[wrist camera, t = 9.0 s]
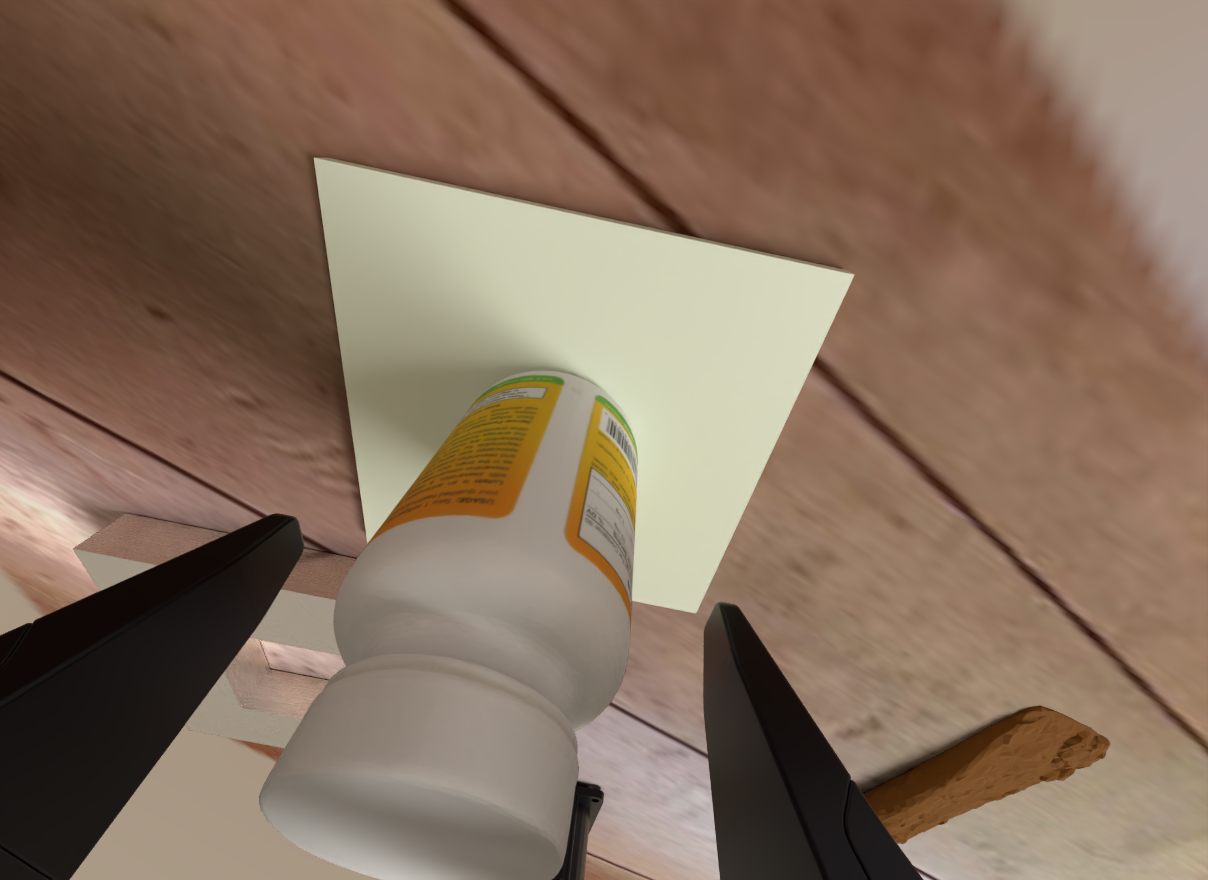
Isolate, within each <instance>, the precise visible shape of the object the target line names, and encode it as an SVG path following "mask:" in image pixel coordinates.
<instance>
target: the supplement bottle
mask: <svg viewBox="0 0 1208 880" xmlns="http://www.w3.org/2000/svg"><path fill="white" fill-rule="evenodd" d="M637 476H638V451H637V443H636V438H635V434H634V431H633V428H632V426H631V424H630V422H629V420H628V418H627V416H626V415H625V413H624V412H623V410H622V409H621V407H620V406H619V405H618V404H617V403H616V402H615V400H614V399H613V398H612V397H610V396H609V395H608V394H607V393H606V392H605V391H603V390H602V389H600V388H599V387H597V386H596V385H594V384H592V383H591V382H589V381H586V380H584V379H582V378H579V377H577V376H574V375H570V374H566V373H562V372H556V371H528V372H523V373H518V374H514V375H511V376H509V377H506V378H504V379H502V380H500V381H498V382H496V383H495V384H493V385H492V386H490V387H489V388H488V389H487V390H485V391H484V392H483V393H482V394H481V395H480V396H479V397H478V399H477V400H476V401H475V402H474V403H473V404H472V406H471V407H470V408H469V409H468V411H467V412H466V414H465V415H464V416H463V417H462V419H461V420H460V422H459V423H458V424H457V426H456V427H455V428H454V430H453V431H452V432H451V434H450V435H449V436H448V438H447V439H446V440H445V442H444V443H443V444H442V446H441V447H440V448H439V450H438V451H437V452H436V454H435V455H434V456H433V458H432V459H431V460H430V461H429V463H428V464H427V465H426V467H425V468H424V469H423V471H422V472H421V473H420V475H419V476H418V478H417V479H416V480H415V482H414V483H413V484H412V485H411V487H410V488H409V489H408V491H407V492H406V493H405V495H404V496H403V497H402V498H401V500H400V501H399V502H398V504H397V505H396V506H395V508H394V509H393V510H392V512H391V513H390V514H389V516H388V517H387V519H386V520H385V521H384V523H383V524H382V525H381V527H380V528H379V529H378V530H377V532H376V533H375V534H374V536H373V537H372V538H371V540H370V541H369V542H368V544H367V545H366V547H365V548H364V549H363V551H362V552H361V554H360V555H359V557H358V558H357V560H356V561H355V563H354V564H353V566H352V567H351V569H350V570H349V572H348V574H347V575H346V577H345V578H344V580H343V583H342V585H341V587H340V589H339V592H338V595H337V598H336V603H335V608H334V620H333V624H334V633H335V638H336V643H337V646H338V649H339V651H340V654H341V656H342V658H343V661H344V662H345V664H346V666H347V667H345V668H343V669H342V670H340V671H338V672H337V673H336V674H335V675H334V676H333V677H332V678H331V679H330V680H329V681H328V682H327V684H326V685H325V687H324V689H323V691H322V692H321V693H320V694H319V695H318V696H317V697H316V698H315V699H314V701H313V702H312V703H311V705H310V707H309V708H308V710H307V712H306V714H305V716H304V717H303V719H302V721H301V722H300V724H299V726H298V727H297V729H296V731H295V732H294V734H293V736H292V737H291V739H290V740H289V742H288V744H287V745H286V747H285V749H284V750H283V752H282V754H281V755H280V757H279V759H278V760H277V762H276V764H275V765H274V767H273V769H272V770H271V772H270V774H269V776H268V778H267V779H266V781H265V783H264V785H263V788H262V790H261V793H260V796H259V804H260V808H261V811H262V813H263V814H264V816H265V818H266V819H267V821H268V822H269V823H270V824H271V825H272V826H273V827H274V828H275V829H276V830H277V831H278V832H279V833H280V834H281V835H283V836H284V837H285V838H287V839H288V840H289V841H291V842H292V843H294V844H295V845H297V846H298V847H300V848H301V849H303V850H305V851H307V852H309V853H312V854H313V855H315V856H318V857H320V858H322V859H324V860H326V861H328V862H331V863H334V864H336V865H339V866H342V867H344V868H347V869H350V870H353V871H356V872H358V873H361V874H364V875H367V876H371V877H374V878H378V879H381V880H552V879H553V878H554V877H555V876H556V875H557V874H558V873H559V871H560V869H561V868H562V866H563V862H564V858H565V854H566V849H567V842H568V836H569V829H570V823H571V816H572V808H573V801H574V793H575V787H576V782H577V778H578V771H579V766H578V759H577V740H576V736H575V733H574V732H575V731H577V730H578V729H580V728H582V727H584V726H585V725H587V724H589V723H590V722H591V721H593V720H594V719H595V718H596V717H597V716H599V715H600V714H601V713H602V712H603V711H604V710H605V708H606V707H607V706H608V705H609V704H610V702H611V701H612V700H613V698H614V696H615V695H616V693H617V691H618V689H619V687H620V685H621V683H622V680H623V677H624V674H625V670H626V665H627V660H628V652H629V642H630V631H631V614H632V584H633V563H634V543H635V523H636V499H637Z"/></svg>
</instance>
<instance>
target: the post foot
mask: <svg viewBox="0 0 1208 880" xmlns="http://www.w3.org/2000/svg"><path fill="white" fill-rule="evenodd" d="M227 534H229V533H224V532H219V531H214V530H208V529H203V528H198V527H193V526H188V525H183V524H178V523H173V522H168V521H163V520H158V519H153V518H148V517H143V516H137V515H132V514H127V513H126V514H124V515H123V516H121V517H120V518H118V519H117V520H115V521H114V522H112V523H111V524H109V525H108V526H106V527H105V528H103V529H102V530H100V531H99V532H97V533H96V534H94V535H93V536H91V537H90V538H88V539H87V540H85V541H84V542H82V543H81V544H79V545H78V546H76V547H75V548H73V550H74V552H75V553H76V555H77V556H78V558H79V559H80V561H81V562H82V564H83V566H84V567H85V569H86V570H87V572H88V573H89V575H90V577H91V578H92V580H93V581H94V583H95V584H96V586H97V587H98V589H99V591H101V590H103V589H106V588H108V587H110V586H112V585H115V584H117V583H119V582H121V581H124V580H126V579H128V578H130V577H133V576H135V575H137V574H139V573H142V572H144V571H146V570H148V569H150V568H153V567H155V566H157V565H159V564H162V563H164V562H166V561H168V560H171V559H173V558H175V557H177V556H180V555H182V554H184V553H186V552H189V551H191V550H193V549H195V548H198V547H200V546H202V545H204V544H206V543H209V542H211V541H213V540H215V539H218V538H220V537H222V536H224V535H227ZM356 560H357V559H356V558H350V557H345V556H340V555H335V554H330V553H325V552H320V551H315V550H310V549H305V548H304V550H303V553H302V555H301V557H300V559H299V560H298V562H297V564H296V565H295V567H294V569H293V570H292V572H291V574H290V575H289V577H288V579H287V580H286V582H285V584H284V585H283V587H282V589H281V590H280V592H279V594H278V595H277V597H276V599H275V600H274V602H273V604H272V605H271V607H270V609H269V610H268V612H267V613H266V615H265V616H264V618H263V620H262V621H261V623H260V624H259V625H258V627H257V628H256V630H255V631H254V632H253V634H252V635H251V637H250V638H249V639H248V641H247V642H246V643H245V645H244V646H243V647H242V649H241V650H240V651H239V653H238V654H237V655H236V657H235V658H234V659H233V661H232V662H231V663H230V665H229V666H228V667H227V669H226V670H225V671H224V673H223V674H222V676H221V677H220V678H219V680H218V681H217V682H216V684H215V685H214V686H213V688H212V689H211V690H210V692H209V693H208V694H207V696H206V697H205V698H204V700H203V701H202V702H201V704H200V705H199V706H198V708H197V709H196V710H195V712H194V713H193V714H192V716H191V717H190V719H189V720H188V721H187V723H186V724H185V725H186V726H187V728H188V729H189V730H190V731H195V732H201V733H206V734H211V735H217V736H222V737H227V738H233V739H238V740H243V741H249V742H254V743H259V744H265V745H270V746H275V747H281V748H285V747H286V745H287V744H288V742H289V740H290V739H291V737H292V736H293V734H294V732H295V731H296V729H297V727H298V726H299V724H300V722H301V721H302V719H303V717H304V716H305V714H306V712H307V710H308V708H309V707H310V705H311V703H312V702H313V701H314V699H315V698H316V697H317V696H318V695H319V694H320V693H321V692H322V691H323V689H324V687H325V685H326V684H327V682H328V681H329V680H324V679H318V678H313V677H308V676H303V675H297V674H292V673H287V672H282V671H276V670H271V669H270V667H269V665H268V662H267V660H266V657H265V654H264V652H263V649H262V647H261V644H260V641H259V640H263V641H269V642H274V643H279V644H284V645H289V646H295V647H300V648H305V649H310V650H315V651H321V652H326V653H331V654H336V655H341V654H340V651H339V649H338V646H337V643H336V638H335V633H334V624H333V620H334V608H335V603H336V598H337V595H338V592H339V589H340V587H341V585H342V583H343V580H344V578H345V577H346V575H347V574H348V572H349V570H350V569H351V567H352V566H353V564H354V563H355V561H356Z"/></svg>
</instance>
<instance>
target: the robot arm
mask: <svg viewBox="0 0 1208 880" xmlns="http://www.w3.org/2000/svg"><path fill="white" fill-rule="evenodd" d="M303 550H304V541H303V537H302V533H301V529H300V525H299V521H298V519H297V518H296V517H293V516H289V515H284V514H272V515H269V516H267V517H265V518H262V519H260V520H258V521H256V522H254V523H251V524H249V525H247V526H245V527H242V528H240V529H238V530H236V531H233V532H231V533H229V534H227V535H224V536H222V537H220V538H218V539H215V540H213V541H211V542H209V543H206V544H204V545H202V546H200V547H198V548H195V549H193V550H191V551H189V552H186V553H184V554H182V555H180V556H177V557H175V558H173V559H171V560H168V561H166V562H164V563H162V564H159V565H157V566H155V567H153V568H150V569H148V570H146V571H144V572H142V573H139V574H137V575H135V576H133V577H130V578H128V579H126V580H124V581H121V582H119V583H117V584H115V585H112V586H110V587H108V588H106V589H103V590H101V591H99V592H97V593H94V594H92V595H90V596H88V597H86V598H83V599H81V600H79V601H77V602H74V603H72V604H70V605H68V606H65V607H63V608H61V609H59V610H56V611H54V612H52V613H50V614H47V615H45V616H43V617H41V618H38V619H36V620H35V621H34V622H33V623H27V624H25V625H22V626H20V627H18V628H16V629H14V630H11V631H9V632H7V633H5V634H3V635H0V880H70V878H71V877H72V876H73V874H74V873H75V872H76V870H77V869H78V868H79V866H80V865H81V864H82V862H83V861H84V860H85V858H86V857H87V856H88V854H89V853H90V851H91V850H92V849H93V848H94V846H95V845H96V843H97V842H98V841H99V839H100V838H101V837H102V835H103V834H104V833H105V831H106V830H107V829H108V827H109V826H110V825H111V823H112V822H113V821H114V819H115V818H116V817H117V815H118V814H119V812H120V811H121V810H122V808H123V807H124V806H125V804H126V803H127V802H128V800H129V799H130V798H131V796H132V795H133V794H134V792H135V791H136V790H137V788H138V787H139V786H140V784H141V783H142V782H143V780H144V779H145V778H146V776H147V775H148V774H149V772H150V771H151V770H152V768H153V767H154V766H155V764H156V763H157V761H158V760H159V759H160V757H161V756H162V755H163V753H164V752H165V751H166V749H167V748H168V747H169V745H170V744H171V743H172V741H173V740H174V739H175V737H176V736H177V735H178V733H179V732H180V731H181V729H182V728H183V726H184V725H185V724H186V723H187V721H188V720H189V719H190V717H191V716H192V714H193V713H194V712H195V710H196V709H197V708H198V706H199V705H200V704H201V702H202V701H203V700H204V698H205V697H206V696H207V694H208V693H209V692H210V690H211V689H212V688H213V686H214V685H215V684H216V682H217V681H218V680H219V678H220V677H221V676H222V674H223V673H224V671H225V670H226V669H227V667H228V666H229V665H230V663H231V662H232V661H233V659H234V658H235V657H236V655H237V654H238V653H239V651H240V650H241V649H242V647H243V646H244V645H245V643H246V642H247V641H248V639H249V638H250V637H251V635H252V634H253V632H254V631H255V630H256V628H257V627H258V625H259V624H260V623H261V621H262V620H263V618H264V616H265V615H266V613H267V612H268V610H269V609H270V607H271V605H272V604H273V602H274V600H275V599H276V597H277V595H278V594H279V592H280V590H281V589H282V587H283V585H284V584H285V582H286V580H287V579H288V577H289V575H290V574H291V572H292V570H293V569H294V567H295V565H296V564H297V562H298V560H299V559H300V557H301V555H302V553H303ZM703 704H704V721H705V731H706V741H707V751H708V761H709V771H710V781H711V791H712V801H713V811H714V821H715V831H716V841H717V852H718V862H719V872H720V880H923V879H922V877H921V876H920V874H919V873H918V872H917V870H916V869H915V868H914V866H913V865H912V864H911V862H910V861H909V860H908V858H907V857H906V855H905V854H904V853H903V851H902V850H901V849H900V847H899V846H898V845H897V843H896V842H895V841H894V839H893V838H892V836H891V835H890V833H889V832H888V830H887V829H886V828H885V826H884V825H883V823H882V822H881V820H880V819H879V817H878V816H877V814H876V813H875V812H874V810H873V809H872V807H871V806H870V804H869V803H868V801H867V800H866V798H865V797H864V795H863V794H862V792H861V791H860V789H859V788H858V786H857V785H856V783H855V782H854V781H853V780H851V776H850V774H849V773H848V771H847V770H846V768H845V767H844V765H843V764H842V762H841V761H840V759H839V758H838V756H837V755H836V753H835V752H834V750H833V749H832V747H831V746H830V744H829V743H828V741H827V740H826V738H825V737H824V735H823V734H822V732H821V731H820V729H819V728H818V726H817V725H816V723H815V722H814V720H813V719H812V717H811V716H810V714H809V713H808V711H807V709H806V708H805V706H804V705H803V703H802V702H801V700H800V699H799V697H798V696H797V694H796V693H795V691H794V690H793V688H792V687H791V685H790V684H789V682H788V681H787V679H786V678H785V676H784V675H783V673H782V672H781V670H780V669H779V667H778V666H777V664H776V663H775V661H774V660H773V658H772V657H771V655H770V654H769V652H768V651H767V649H766V648H765V646H764V645H763V643H762V642H761V640H760V639H759V637H758V636H757V634H756V633H755V631H754V629H753V628H752V626H751V625H750V623H749V622H748V620H747V619H746V617H745V616H744V614H743V613H742V611H741V610H740V608H739V607H738V606H736V605H734V604H730V603H725V602H718V603H716V605H715V607H714V609H713V611H712V613H711V615H710V617H709V619H708V621H707V623H706V625H705V629H704V680H703ZM603 798H604V793H603V792H602V791H600V790H597V789H592V788H586V787H581V786H576V787H575V793H574V801H573V808H572V816H571V823H570V829H569V836H568V842H567V849H566V854H565V858H564V862H563V866H562V868H561V869H560V871H559V873H558V874H557V875H556V876H555V877H554V878H553V879H552V880H584V875H585V864H586V853H587V842H588V834H589V832H590V830H591V828H592V826H593V823H594V821H595V819H596V817H597V815H598V812H599V810H600V808H601V806H602V804H603Z"/></svg>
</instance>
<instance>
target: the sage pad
mask: <svg viewBox="0 0 1208 880" xmlns="http://www.w3.org/2000/svg"><path fill="white" fill-rule="evenodd" d="M314 164H315V171H316V178H317V185H318V192H319V200H320V207H321V214H322V221H323V228H324V235H325V243H326V250H327V257H328V264H329V271H330V279H331V286H332V293H333V300H334V307H335V314H336V322H337V329H338V336H339V343H340V350H341V357H342V365H343V372H344V379H345V386H346V393H347V401H348V408H349V415H350V422H351V429H352V436H353V444H354V451H355V458H356V465H357V472H358V479H359V487H360V494H361V501H362V508H363V515H364V522H365V530H366V537H367V544H368V542H369V541H370V540H371V538H372V537H373V536H374V534H375V533H376V532H377V530H378V529H379V528H380V527H381V525H382V524H383V523H384V521H385V520H386V519H387V517H388V516H389V514H390V513H391V512H392V510H393V509H394V508H395V506H396V505H397V504H398V502H399V501H400V500H401V498H402V497H403V496H404V495H405V493H406V492H407V491H408V489H409V488H410V487H411V485H412V484H413V483H414V482H415V480H416V479H417V478H418V476H419V475H420V473H421V472H422V471H423V469H424V468H425V467H426V465H427V464H428V463H429V461H430V460H431V459H432V458H433V456H434V455H435V454H436V452H437V451H438V450H439V448H440V447H441V446H442V444H443V443H444V442H445V440H446V439H447V438H448V436H449V435H450V434H451V432H452V431H453V430H454V428H455V427H456V426H457V424H458V423H459V422H460V420H461V419H462V417H463V416H464V415H465V414H466V412H467V411H468V409H469V408H470V407H471V406H472V404H473V403H474V402H475V401H476V400H477V399H478V397H479V396H480V395H481V394H482V393H483V392H484V391H485V390H487V389H488V388H489V387H490V386H492V385H493V384H495V383H496V382H498V381H500V380H502V379H504V378H506V377H509V376H511V375H514V374H518V373H523V372H528V371H556V372H562V373H566V374H570V375H574V376H577V377H579V378H582V379H584V380H586V381H589V382H591V383H592V384H594V385H596V386H597V387H599V388H600V389H602V390H603V391H605V392H606V393H607V394H608V395H609V396H610V397H612V398H613V399H614V400H615V402H616V403H617V404H618V405H619V406H620V407H621V409H622V410H623V412H624V413H625V415H626V416H627V418H628V420H629V422H630V424H631V426H632V428H633V431H634V434H635V438H636V443H637V451H638V476H637V499H636V523H635V543H634V563H633V584H632V601H636V602H641V603H646V604H651V605H656V606H661V607H666V608H671V609H677V610H682V611H687V612H692V613H696V612H697V610H698V608H699V606H700V604H701V601H702V599H703V597H704V595H705V593H706V591H707V589H708V587H709V584H710V582H711V580H712V578H713V576H714V574H715V572H716V569H717V567H718V565H719V563H720V561H721V559H722V557H723V554H724V552H725V550H726V548H727V546H728V544H729V542H730V540H731V537H732V535H733V533H734V531H735V529H736V527H737V525H738V522H739V520H740V518H741V516H742V514H743V512H744V510H745V508H746V505H747V503H748V501H749V499H750V497H751V495H752V493H753V490H754V488H755V486H756V484H757V482H758V480H759V478H760V475H761V473H762V471H763V469H764V467H765V465H766V463H767V461H768V458H769V456H770V454H771V452H772V450H773V448H774V446H775V443H776V441H777V439H778V437H779V435H780V433H781V431H782V429H783V426H784V424H785V422H786V420H787V418H788V416H789V414H790V411H791V409H792V407H793V405H794V403H795V401H796V399H797V396H798V394H799V392H800V390H801V388H802V386H803V384H804V382H805V379H806V377H807V375H808V373H809V371H810V369H811V367H812V364H813V362H814V360H815V358H816V356H817V354H818V352H819V350H820V347H821V345H822V343H823V341H824V339H825V337H826V335H827V332H828V330H829V328H830V326H831V324H832V322H833V320H834V317H835V315H836V313H837V311H838V309H839V307H840V305H841V303H842V300H843V298H844V296H845V294H846V292H847V290H848V288H849V285H850V283H851V281H852V279H853V277H854V274H852V273H850V272H848V271H847V270H844V269H839V268H835V267H830V266H826V265H821V264H816V263H812V262H807V261H802V260H798V259H793V258H789V257H784V256H779V255H775V254H770V253H766V252H761V251H756V250H752V249H747V248H743V247H738V246H733V245H729V244H724V243H720V242H715V241H710V240H706V239H701V238H696V237H692V236H687V235H683V234H678V233H673V232H669V231H664V230H660V229H655V228H650V227H646V226H641V225H637V224H632V223H627V222H623V221H618V220H614V219H609V218H604V217H600V216H595V215H590V214H586V213H581V212H577V211H572V210H567V209H563V208H558V207H554V206H549V205H544V204H540V203H535V202H531V201H526V200H521V199H517V198H512V197H508V196H503V195H498V194H494V193H489V192H484V191H480V190H475V189H471V188H466V187H461V186H457V185H452V184H448V183H443V182H438V181H434V180H429V179H425V178H420V177H415V176H411V175H406V174H402V173H397V172H392V171H388V170H383V169H378V168H374V167H369V166H365V165H360V164H355V163H351V162H346V161H342V160H337V159H332V158H314Z"/></svg>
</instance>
